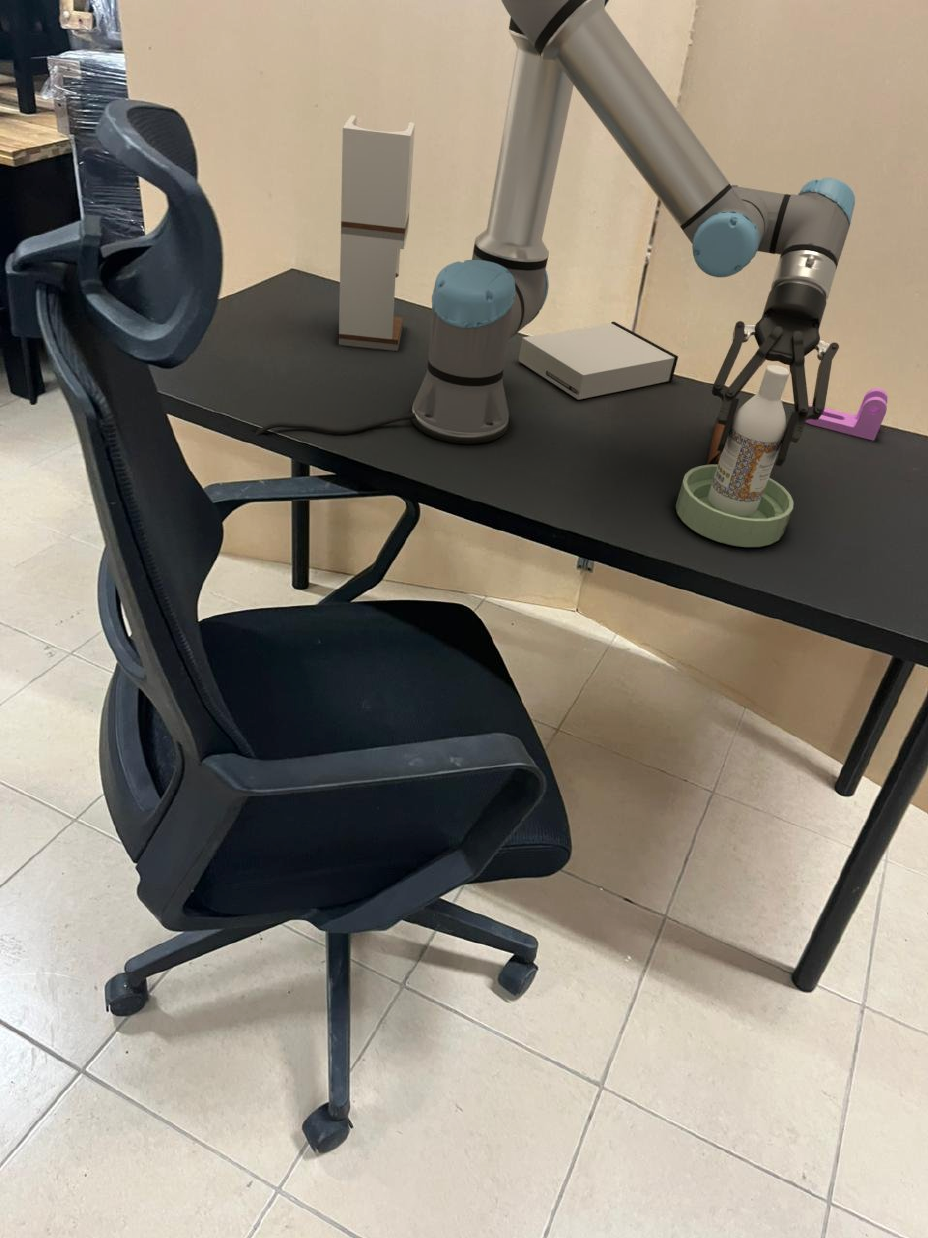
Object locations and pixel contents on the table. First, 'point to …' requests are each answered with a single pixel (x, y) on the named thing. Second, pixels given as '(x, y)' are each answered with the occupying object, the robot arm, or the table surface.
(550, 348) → the disc drive
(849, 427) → the bracket
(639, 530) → the table surface
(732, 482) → the bath foam
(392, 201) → the tall white banded column
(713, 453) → the sunglasses case
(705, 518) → the dish
